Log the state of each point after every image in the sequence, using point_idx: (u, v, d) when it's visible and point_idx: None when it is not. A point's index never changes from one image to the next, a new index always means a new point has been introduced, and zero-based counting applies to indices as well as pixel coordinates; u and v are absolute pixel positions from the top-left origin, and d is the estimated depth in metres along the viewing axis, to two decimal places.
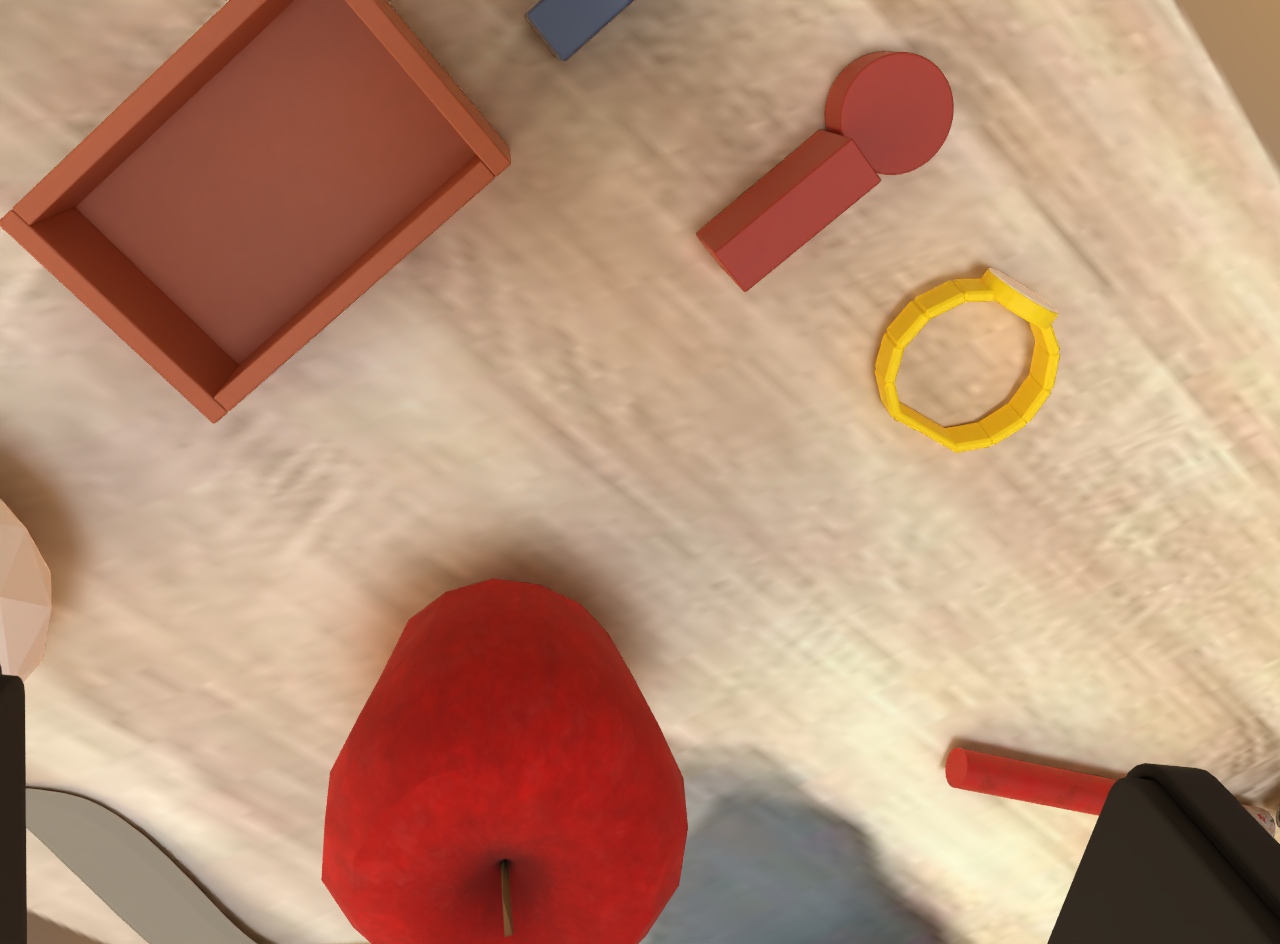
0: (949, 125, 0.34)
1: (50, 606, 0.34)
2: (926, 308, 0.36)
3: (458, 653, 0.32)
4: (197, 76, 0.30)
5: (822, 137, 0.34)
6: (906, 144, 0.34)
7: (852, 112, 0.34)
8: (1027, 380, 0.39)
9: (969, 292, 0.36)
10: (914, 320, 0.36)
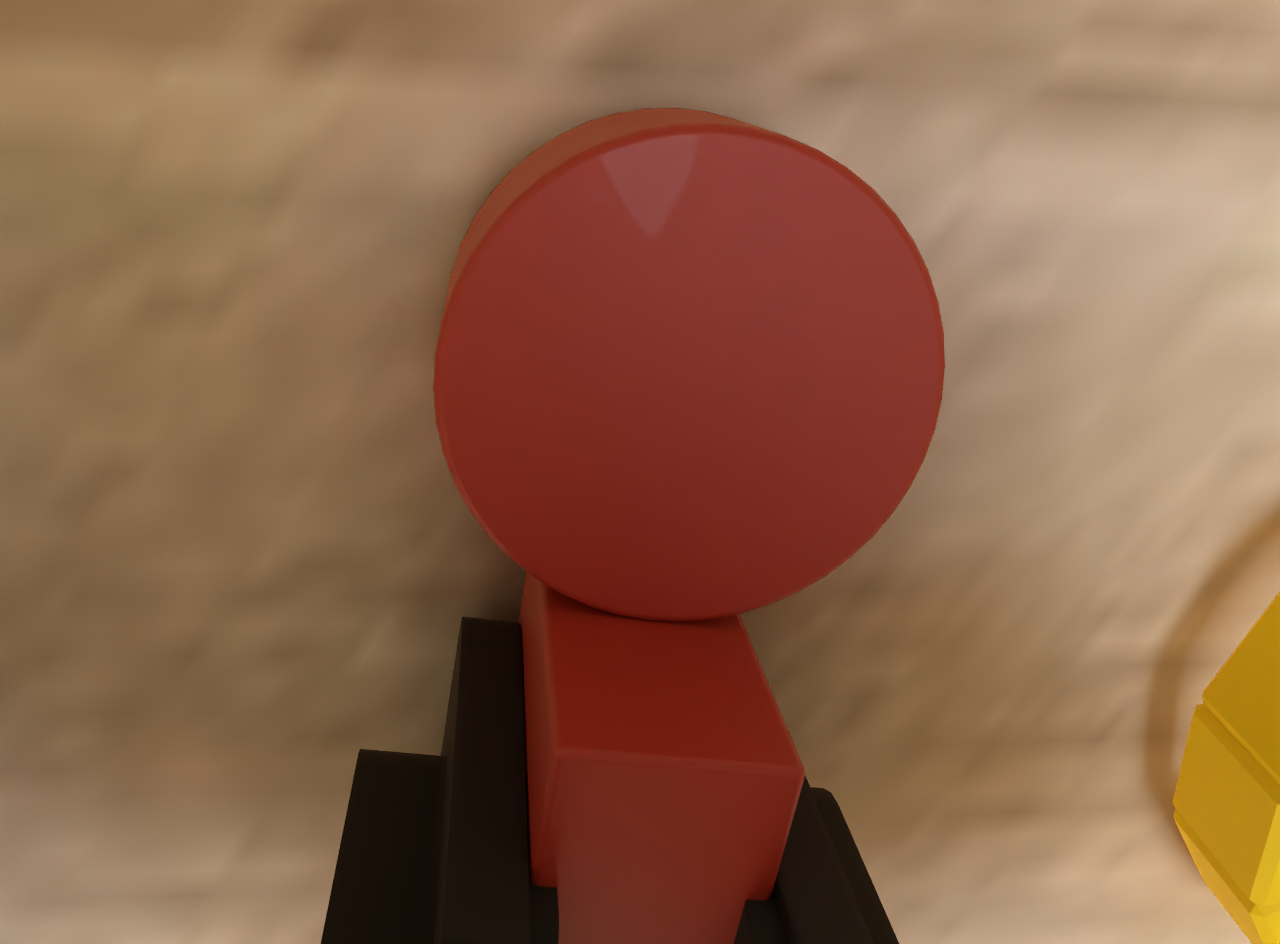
0: (916, 268, 0.07)
1: None
2: None
3: None
4: None
5: (533, 604, 0.09)
6: (814, 451, 0.08)
7: (535, 518, 0.08)
8: None
9: None
10: (1264, 823, 0.10)
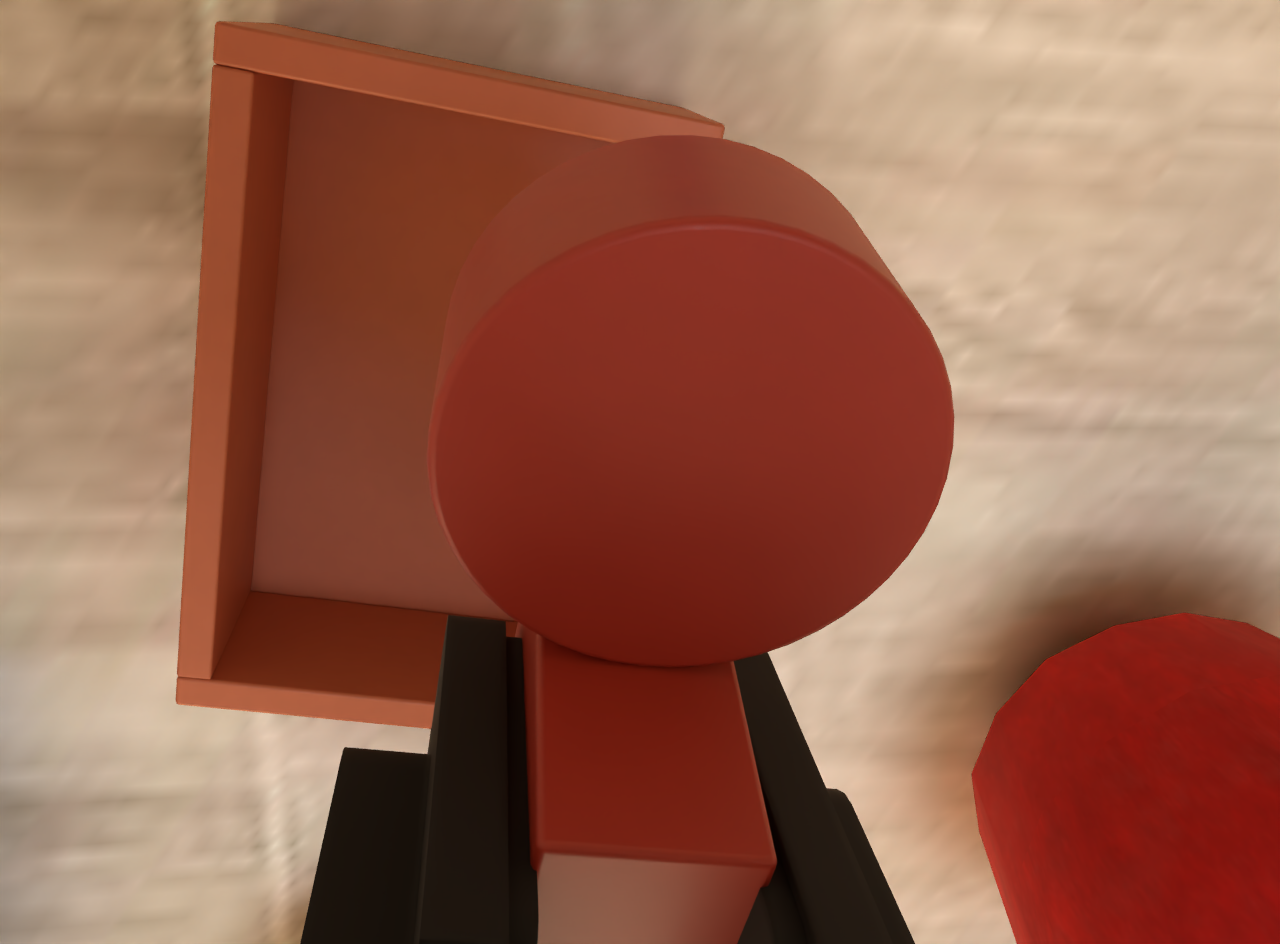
0: (930, 359, 0.07)
1: None
2: None
3: (1138, 847, 0.19)
4: (250, 344, 0.19)
5: None
6: (812, 523, 0.08)
7: (529, 580, 0.08)
8: None
9: None
10: None
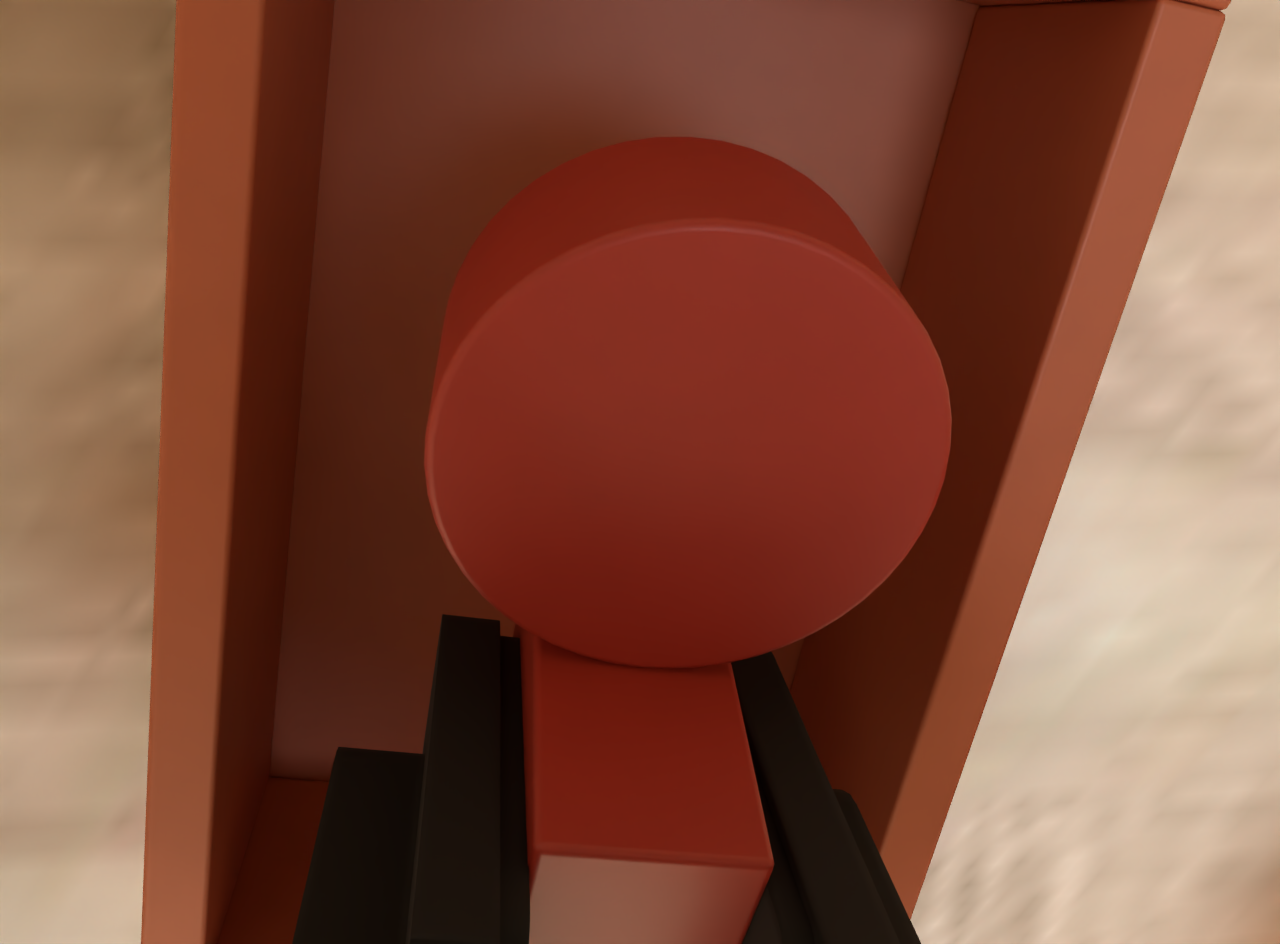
0: (928, 360, 0.07)
1: None
2: None
3: None
4: (268, 385, 0.10)
5: None
6: (809, 524, 0.08)
7: (527, 581, 0.08)
8: None
9: None
10: None
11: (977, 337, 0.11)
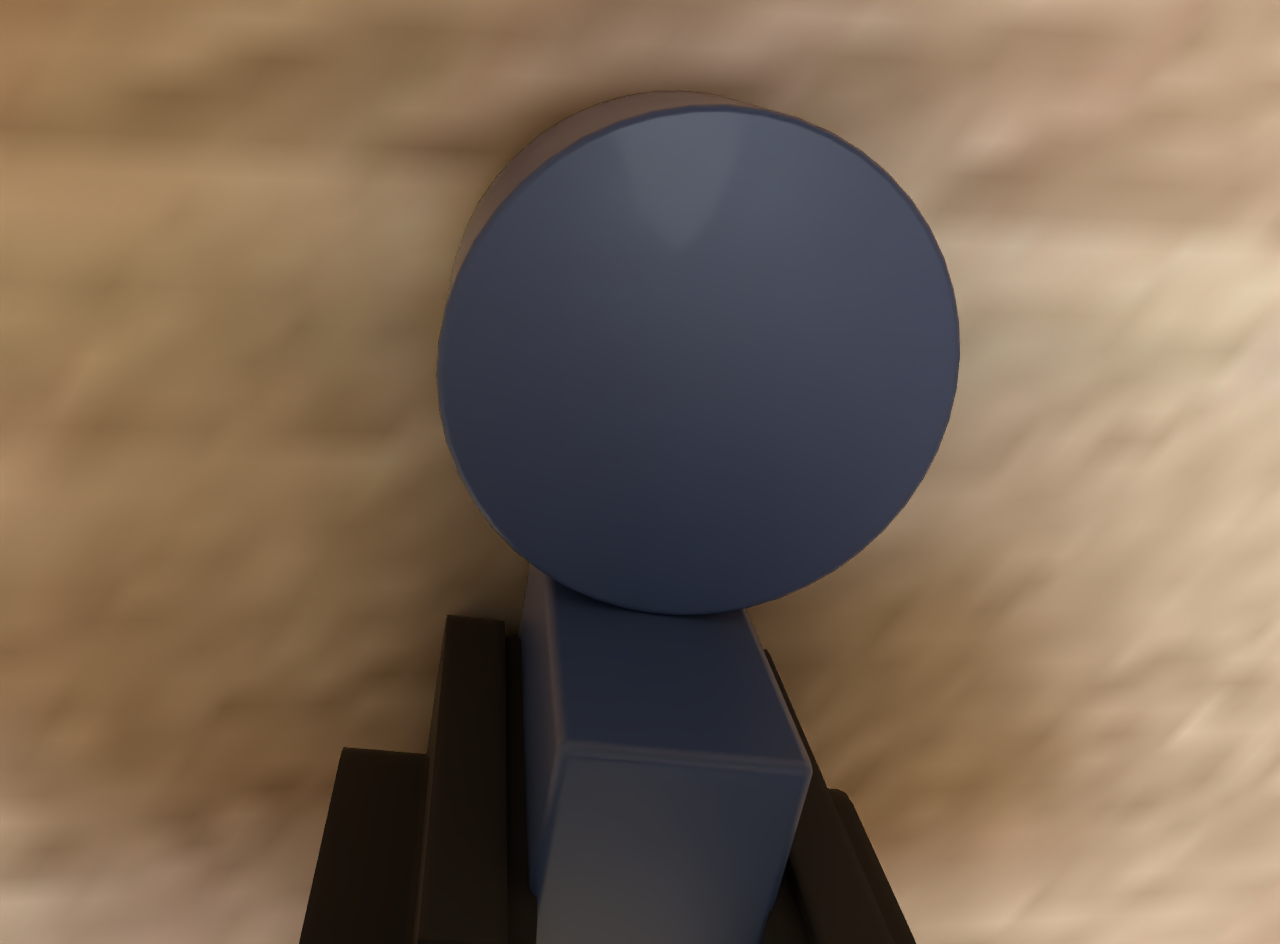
0: None
1: None
2: None
3: None
4: None
5: None
6: None
7: None
8: None
9: None
10: None
11: None
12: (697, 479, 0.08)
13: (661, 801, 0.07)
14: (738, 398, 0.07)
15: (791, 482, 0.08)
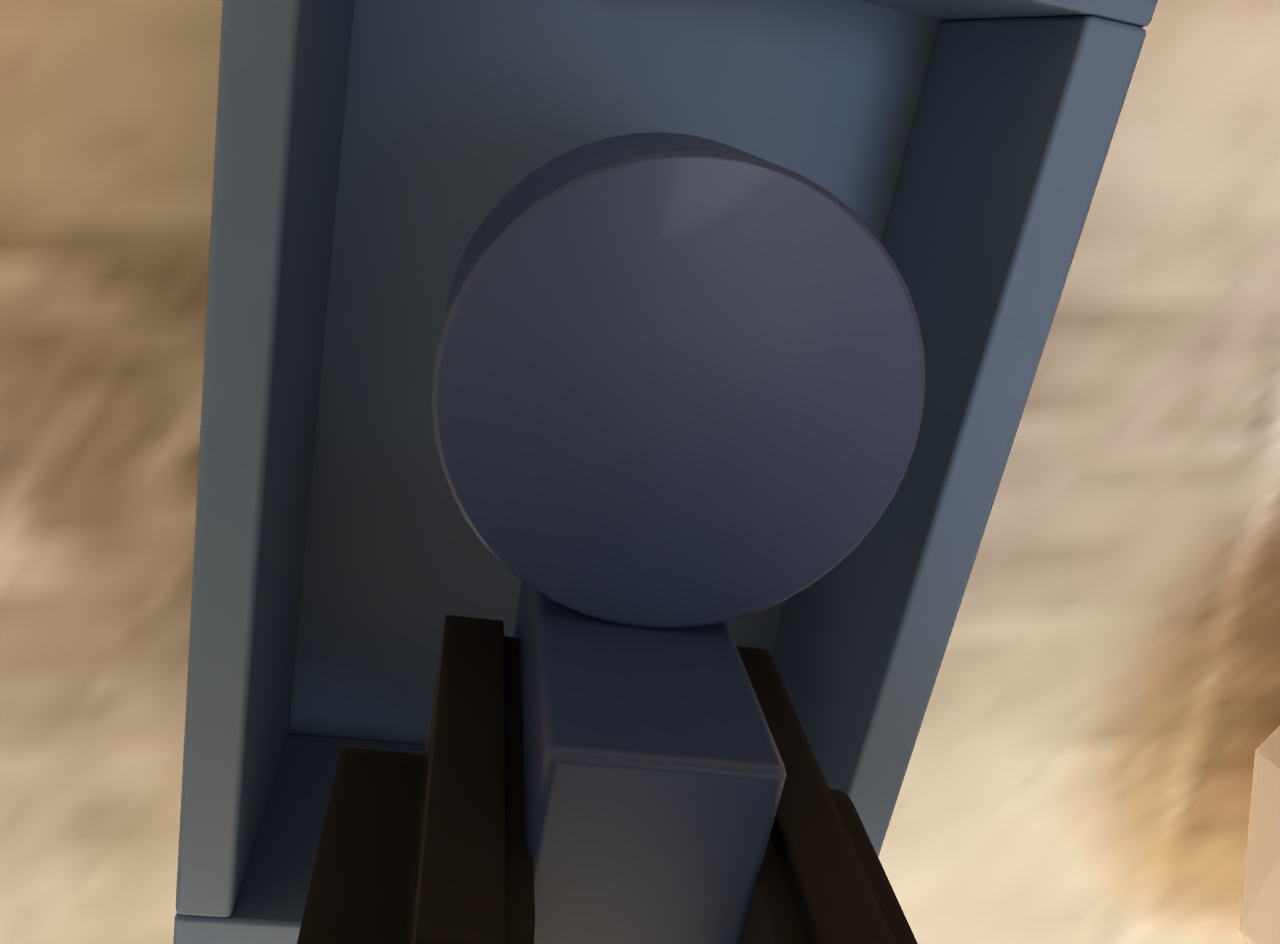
0: None
1: None
2: None
3: None
4: None
5: None
6: None
7: None
8: None
9: None
10: None
11: None
12: (679, 498, 0.08)
13: (643, 802, 0.07)
14: (716, 423, 0.08)
15: (768, 502, 0.08)
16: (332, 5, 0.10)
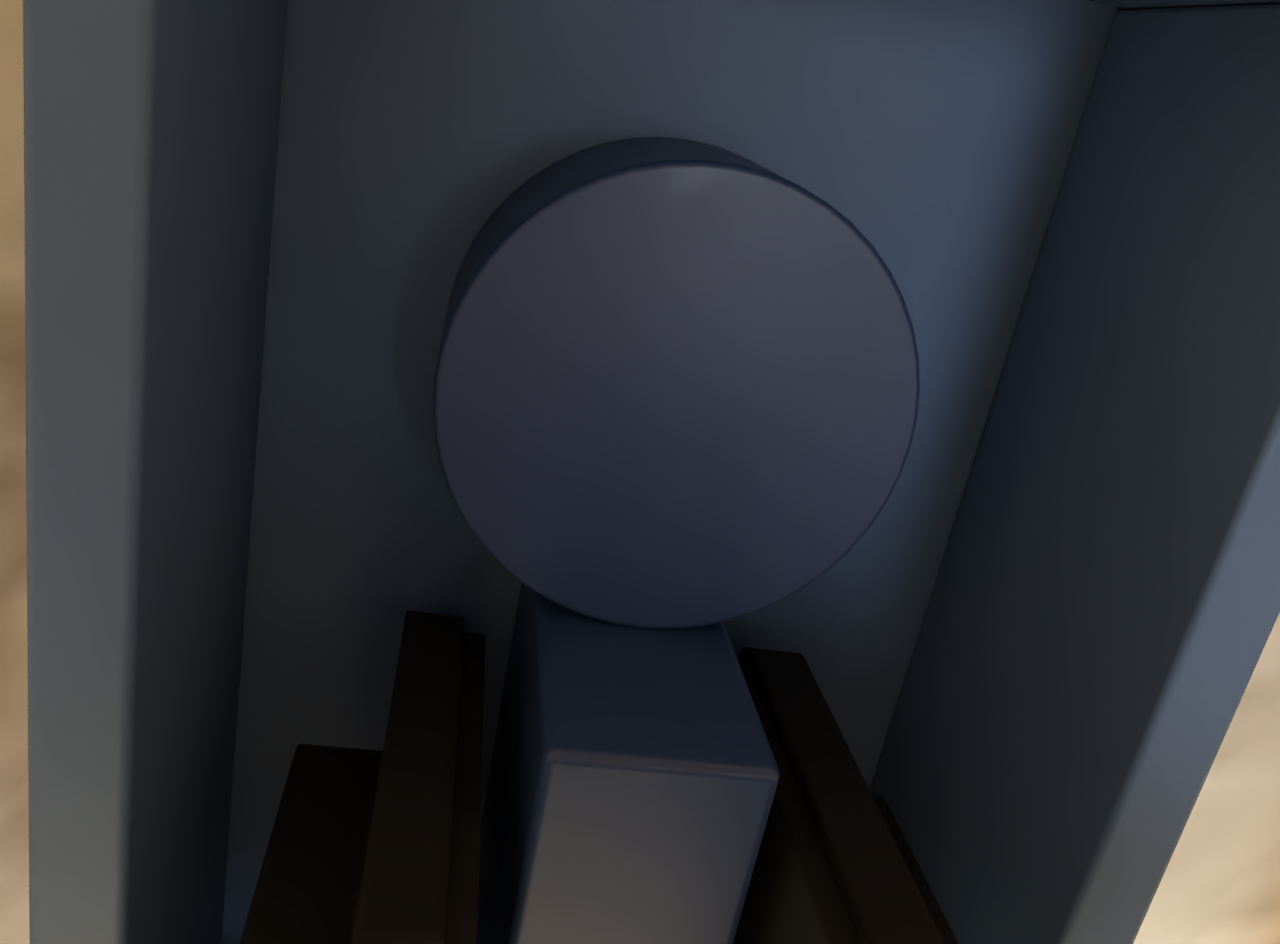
0: None
1: None
2: None
3: None
4: None
5: None
6: None
7: None
8: None
9: None
10: None
11: None
12: (675, 503, 0.08)
13: (640, 802, 0.07)
14: (713, 428, 0.08)
15: (763, 505, 0.08)
16: None
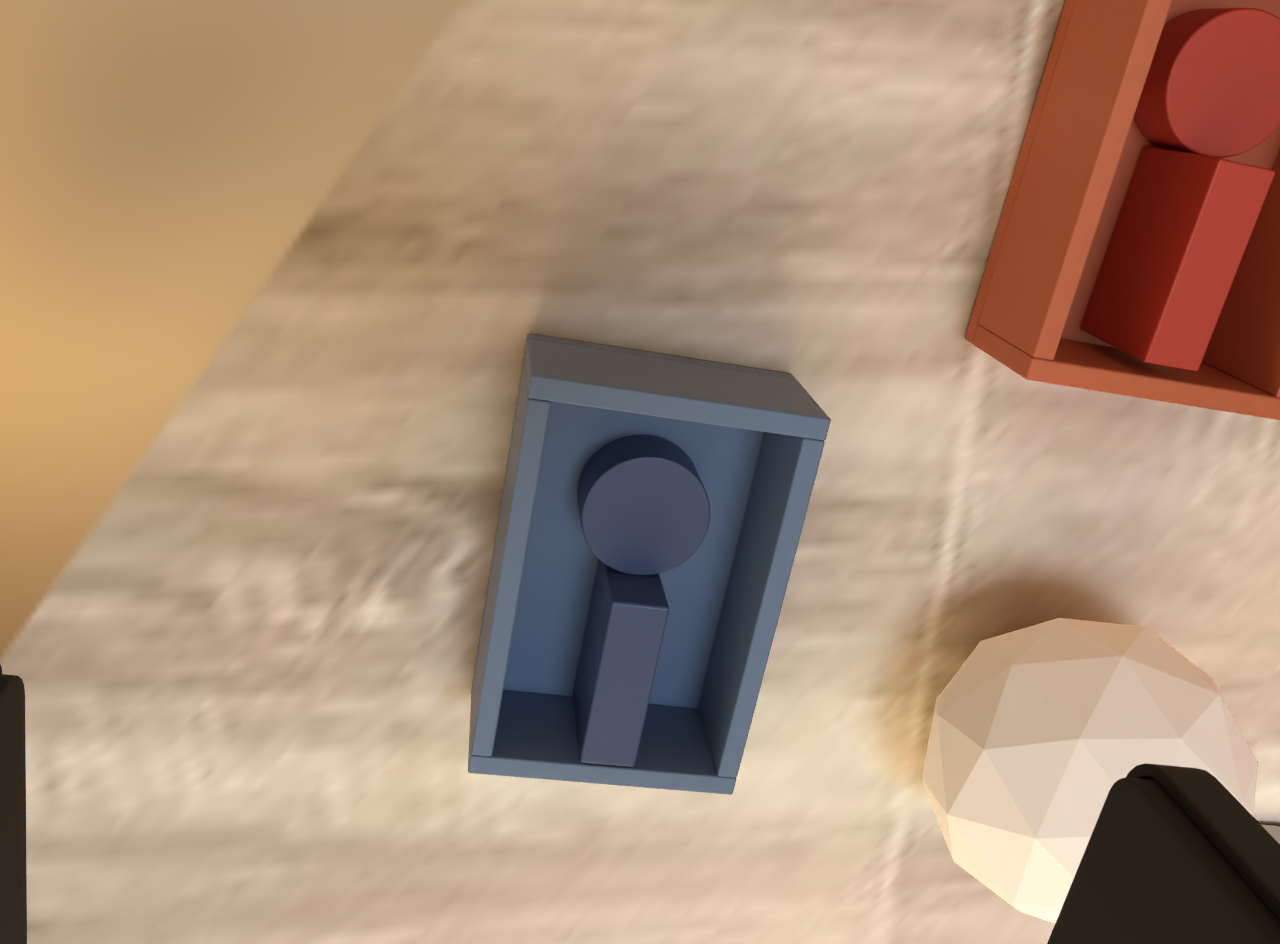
0: None
1: (1211, 678, 0.32)
2: None
3: None
4: None
5: (1161, 160, 0.29)
6: (1261, 103, 0.28)
7: (1185, 120, 0.28)
8: None
9: None
10: None
11: None
12: (645, 540, 0.30)
13: (634, 615, 0.29)
14: (654, 521, 0.30)
15: (668, 541, 0.31)
16: None
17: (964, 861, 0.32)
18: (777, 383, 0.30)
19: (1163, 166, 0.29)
